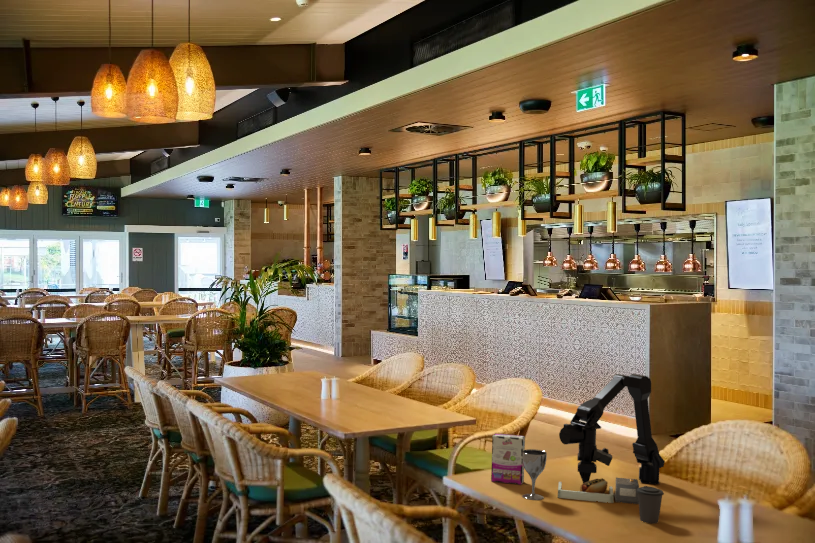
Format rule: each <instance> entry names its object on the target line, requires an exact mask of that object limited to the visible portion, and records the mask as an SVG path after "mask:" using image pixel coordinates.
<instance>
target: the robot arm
mask: <svg viewBox="0 0 815 543" xmlns="http://www.w3.org/2000/svg"><path fill="white" fill-rule="evenodd" d="M625 388H627V391H628V392H627V393H628V394H629V395H630V396H631V398H632V400H633V408H634V417H635V425H636V433H637V438H636V440H635V442H632V444H631V445H632V454H633V455H634V457H635V459H636V462H637V463H638V464H640V466H639V467H638V480H640V483H642V484H651V485H660V484H661V483H660V469H661V468H664V465H665V463H666V461H665V460H664V458H663V457H662V456H661V454H660V453H659V447H658V445H657V443H656V440H655V439H654V438H653V433H652V425H651V416H650V415H651V414H650V408H649V406H650V405H649V397H650V394H651V393H652V381H651V378H650V377H649V376H648V375H647V376H646V375H642V374H637V373H631V374H629V375H625V374H619V373H618V374H614V376H613V377H612V379H611V380H610V381H609V382H608V383H607V384H606V385H605V386H603V388H602V389H601V390H600V391H599V392H598V393H597V394H596V395H595V396H594V397H593V398H591V399H589V400H586V401H584V402H583V403H582V404H580V405H578V407H577V409H576V412H575V413H574V415H573V417H572V419H571V420H570V423H564V424H563V427H561V428H560V431H559V433H558V435H559V436H558V437H559V440H560V442H561V443H562V444H563V445H574V444H578V453H577V456H576V457H577V472H578V473H579V476H580V479H581V481H582V484H583V483H585V482H588V481H591V480H590V479H591V476H592V474H597V471H598V470H597V467H598V466H597V464H596V463H597V462H599V463H602V464H604V465H605V466H607V467H609V466H610V465H611V462H612V460H613V455H612V454H611V453H609V449H608V448H606V447H603V448H602V449H598V447H597V430H599V429H602V426H601V425H600V424H599V423H598V422H599V421H600V420H601V418H602V417H603V415H604V410H605V408H606V407H607V406H608V405H609V404H610V403H611V402H612V401H613V400H614V399H615V398H616V397H617V396H618V395H619V394H620V393H621V392H622V391H623V390H624V389H625Z"/></svg>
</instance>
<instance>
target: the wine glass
mask: <svg viewBox="0 0 815 543" xmlns="http://www.w3.org/2000/svg"><path fill="white" fill-rule="evenodd" d="M547 455H548V453H547V451H545V450H541V449H534V448H529V449H525V450H523V455H522V457H523V466H524V471H525V472H526V473H527V474H528V476H529V477H530V480H531V492H530V493H525V494H522V496H521V497H522V498H523V499H525V500H530V501H541V500H544V498H545V497H544V496H543V495H541V494H538V493H536V492H535V486H536V480H538V477H539V476H540V475H541V473H543V472H544V470H545V467H546V463H547Z"/></svg>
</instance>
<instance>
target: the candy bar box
mask: <svg viewBox="0 0 815 543" xmlns="http://www.w3.org/2000/svg"><path fill="white" fill-rule="evenodd" d="M491 439H492V441H491V443H492V444H491V470H490V471H491V476H490V479H491V480H490V481H491V482H494V483H502V484H504V483H505V484H509V485H510V484H511V485H522V484H523V483H524V481H525V469H524V466H523V457H522V455H523V450H526V448H525V447H526V446H525V445H526V436H525V435H517V434H516V435H515V434H504V433H494V434H493V435H492V438H491Z"/></svg>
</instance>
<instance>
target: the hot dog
mask: <svg viewBox="0 0 815 543" xmlns="http://www.w3.org/2000/svg"><path fill="white" fill-rule="evenodd" d="M608 484H609V483H608V481H607V480H605V478H602V477H601V478H594V479H591V480H589V481H588V482H585V483H583V482H582V483H581V484H580V487H579V491H580V492H590V493H601V494H605V492H606V491H607V489H608Z"/></svg>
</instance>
